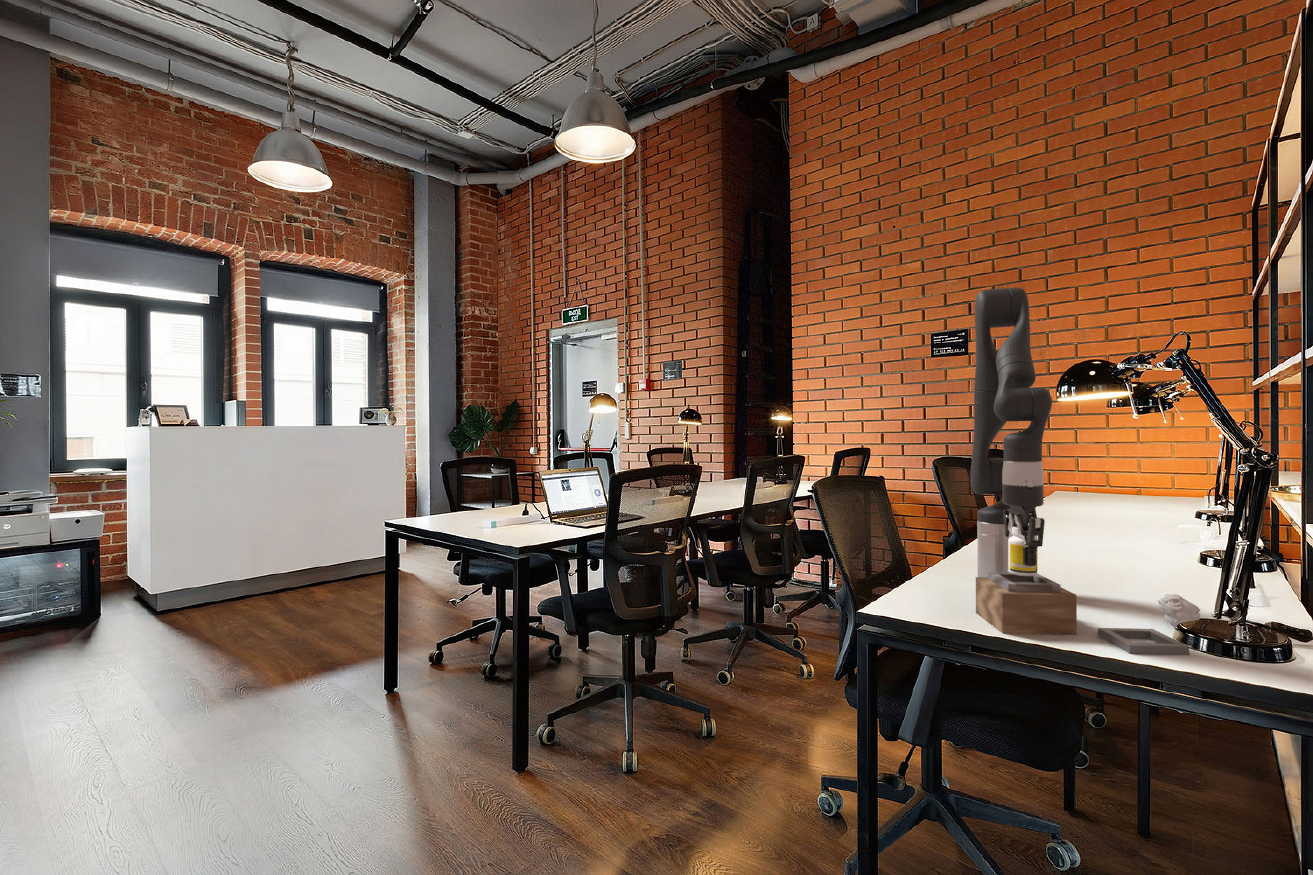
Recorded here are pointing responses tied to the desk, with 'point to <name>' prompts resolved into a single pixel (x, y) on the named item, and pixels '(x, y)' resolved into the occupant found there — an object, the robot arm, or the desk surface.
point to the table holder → (1161, 647)
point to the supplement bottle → (1018, 556)
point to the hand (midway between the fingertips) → (1022, 562)
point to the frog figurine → (1178, 609)
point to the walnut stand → (1026, 604)
